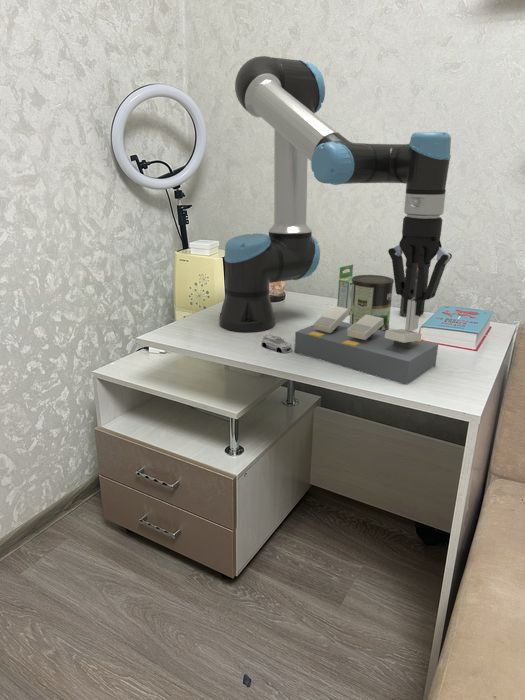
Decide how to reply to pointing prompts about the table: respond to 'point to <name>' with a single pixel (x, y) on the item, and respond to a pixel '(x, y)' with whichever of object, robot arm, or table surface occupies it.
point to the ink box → (345, 288)
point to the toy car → (276, 343)
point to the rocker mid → (365, 327)
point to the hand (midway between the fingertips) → (411, 328)
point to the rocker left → (331, 319)
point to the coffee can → (371, 298)
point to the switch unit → (368, 352)
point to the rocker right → (402, 335)
